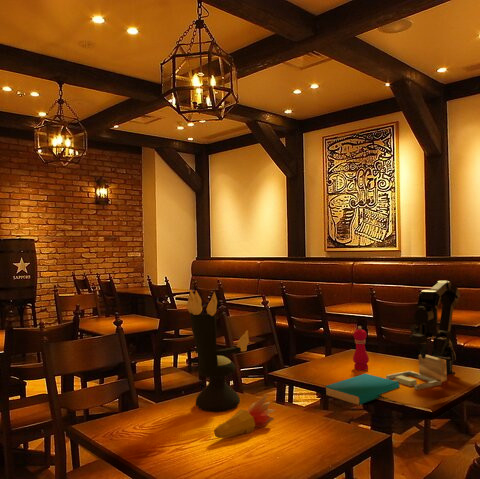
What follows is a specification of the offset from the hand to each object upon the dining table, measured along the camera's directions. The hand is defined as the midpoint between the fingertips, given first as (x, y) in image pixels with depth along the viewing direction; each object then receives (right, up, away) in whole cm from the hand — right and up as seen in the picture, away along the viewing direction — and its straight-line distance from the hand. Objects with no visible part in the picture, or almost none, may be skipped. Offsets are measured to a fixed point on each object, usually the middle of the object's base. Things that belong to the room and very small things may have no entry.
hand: (431, 357), depth 204 cm
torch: (-79, -13, -45) cm, 92 cm away
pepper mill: (-24, -11, +23) cm, 35 cm away
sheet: (+1, -10, 0) cm, 10 cm away
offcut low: (-13, -11, -6) cm, 18 cm away
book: (-32, -12, -12) cm, 36 cm away
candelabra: (-90, -14, -22) cm, 94 cm away
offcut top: (-13, -9, -6) cm, 17 cm away
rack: (-9, -10, -4) cm, 14 cm away
